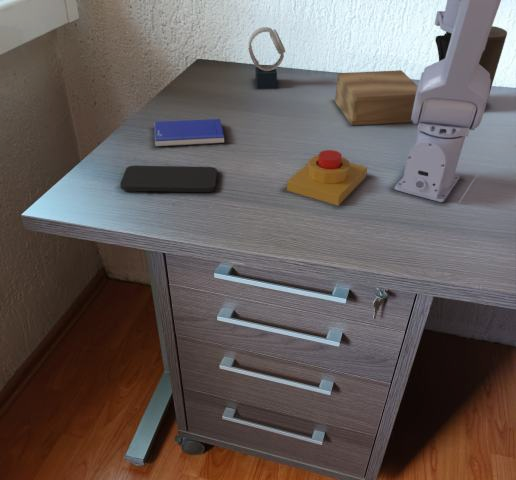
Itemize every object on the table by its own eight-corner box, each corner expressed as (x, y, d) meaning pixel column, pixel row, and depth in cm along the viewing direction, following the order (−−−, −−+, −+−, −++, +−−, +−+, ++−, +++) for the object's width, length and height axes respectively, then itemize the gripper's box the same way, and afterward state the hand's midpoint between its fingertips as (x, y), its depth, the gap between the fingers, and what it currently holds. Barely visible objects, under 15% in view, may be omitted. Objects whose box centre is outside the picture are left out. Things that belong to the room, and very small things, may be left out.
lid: (425, 97, 100) (426, 93, 99) (356, 101, 98) (356, 97, 98) (400, 74, 109) (401, 70, 109) (337, 77, 108) (337, 73, 107)
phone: (214, 188, 82) (118, 186, 82) (214, 193, 83) (119, 191, 82) (217, 166, 87) (127, 165, 87) (217, 171, 88) (128, 169, 88)
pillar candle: (467, 116, 106) (491, 32, 96) (428, 101, 111) (447, 20, 101) (495, 104, 110) (520, 23, 100) (456, 91, 116) (477, 13, 105)
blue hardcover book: (154, 138, 93) (223, 135, 95) (154, 120, 99) (219, 117, 100) (155, 147, 94) (224, 143, 96) (155, 128, 100) (220, 125, 102)
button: (334, 172, 81) (335, 162, 80) (313, 167, 83) (314, 156, 81) (344, 163, 84) (345, 153, 82) (323, 158, 85) (324, 148, 84)
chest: (417, 121, 104) (423, 96, 100) (351, 125, 102) (354, 99, 99) (396, 98, 113) (400, 74, 109) (334, 101, 111) (337, 77, 108)
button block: (338, 205, 80) (340, 184, 78) (286, 190, 84) (287, 169, 81) (366, 177, 87) (369, 156, 85) (317, 164, 90) (319, 144, 88)
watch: (285, 88, 117) (287, 32, 109) (249, 88, 116) (249, 32, 108) (282, 79, 121) (284, 24, 113) (247, 80, 120) (247, 25, 112)
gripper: (518, 1, 75) (487, 100, 84) (473, -22, 85) (450, 69, 94) (471, 2, 74) (446, 102, 83) (431, -21, 84) (413, 71, 93)
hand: (445, 85), depth 89 cm, fingers closed
